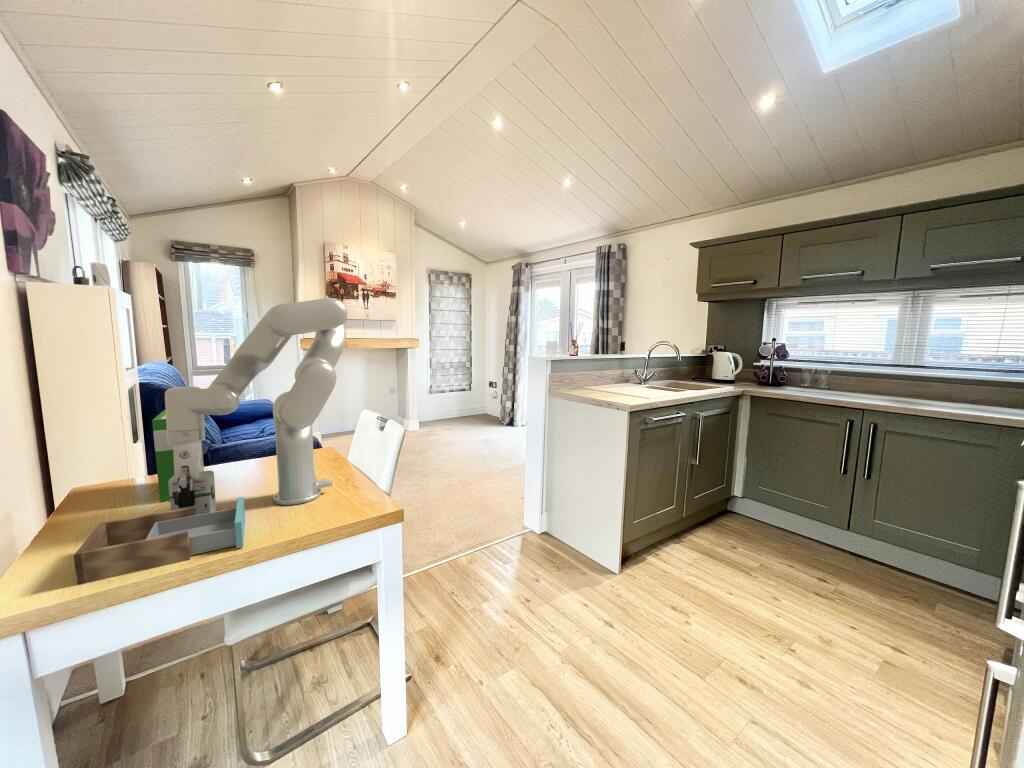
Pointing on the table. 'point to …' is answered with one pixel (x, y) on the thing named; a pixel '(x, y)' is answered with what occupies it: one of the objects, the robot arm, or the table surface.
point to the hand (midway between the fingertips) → (189, 499)
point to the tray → (207, 529)
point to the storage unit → (130, 547)
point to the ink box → (196, 493)
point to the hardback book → (163, 455)
